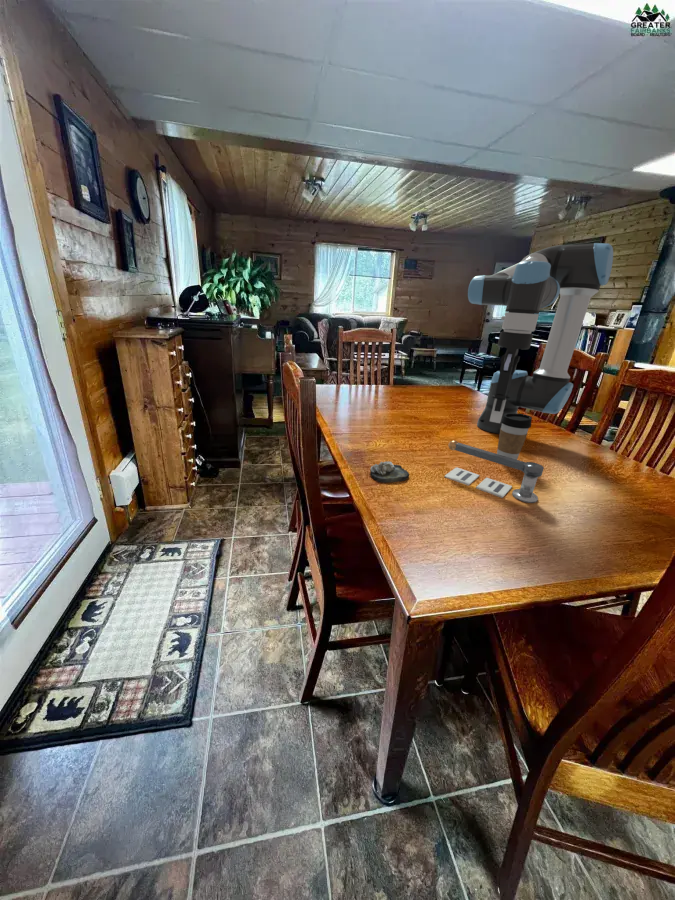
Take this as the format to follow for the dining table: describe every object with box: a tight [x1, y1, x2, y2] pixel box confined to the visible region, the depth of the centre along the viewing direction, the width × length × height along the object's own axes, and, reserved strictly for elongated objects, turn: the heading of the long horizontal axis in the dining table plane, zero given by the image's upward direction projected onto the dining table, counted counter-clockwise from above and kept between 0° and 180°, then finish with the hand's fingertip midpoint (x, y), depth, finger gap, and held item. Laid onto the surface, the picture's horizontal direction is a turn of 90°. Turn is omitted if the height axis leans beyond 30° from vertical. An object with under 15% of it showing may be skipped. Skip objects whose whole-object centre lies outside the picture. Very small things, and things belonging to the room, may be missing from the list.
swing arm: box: [448, 440, 545, 478], centre depth 94 cm, size 25×4×3 cm, turn 49°
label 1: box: [444, 467, 480, 486], centre depth 100 cm, size 8×7×1 cm
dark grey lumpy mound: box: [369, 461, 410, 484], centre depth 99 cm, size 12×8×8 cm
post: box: [511, 473, 539, 504], centre depth 90 cm, size 6×6×7 cm
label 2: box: [475, 476, 513, 499], centre depth 95 cm, size 8×7×1 cm
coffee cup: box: [496, 413, 533, 460], centre depth 110 cm, size 8×8×15 cm
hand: (495, 421), depth 97 cm, fingers closed
